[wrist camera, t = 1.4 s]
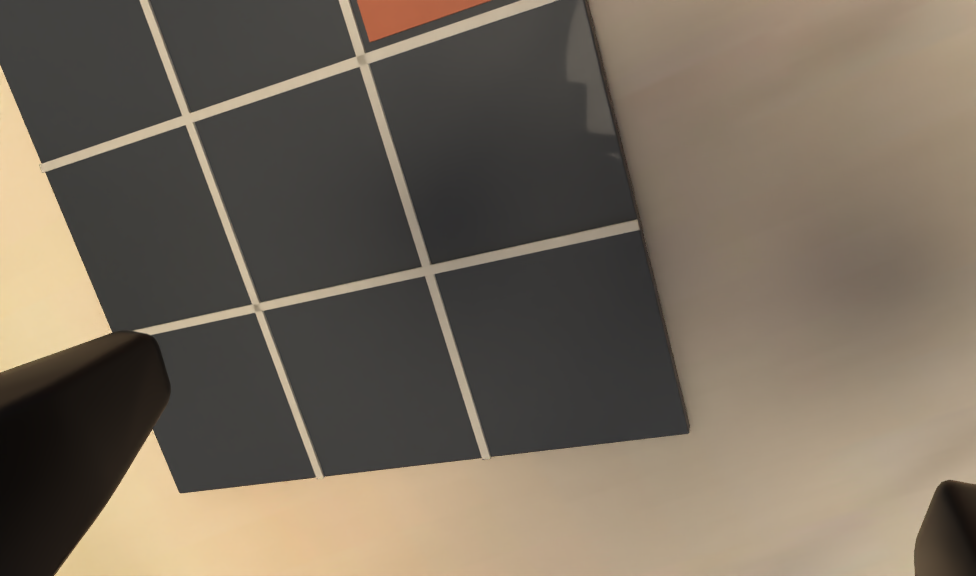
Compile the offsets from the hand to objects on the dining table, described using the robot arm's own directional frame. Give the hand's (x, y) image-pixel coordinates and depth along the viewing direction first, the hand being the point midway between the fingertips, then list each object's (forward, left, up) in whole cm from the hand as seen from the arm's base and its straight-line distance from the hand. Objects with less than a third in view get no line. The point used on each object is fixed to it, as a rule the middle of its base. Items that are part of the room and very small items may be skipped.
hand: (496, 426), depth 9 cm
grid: (+2, +10, -15) cm, 18 cm away
